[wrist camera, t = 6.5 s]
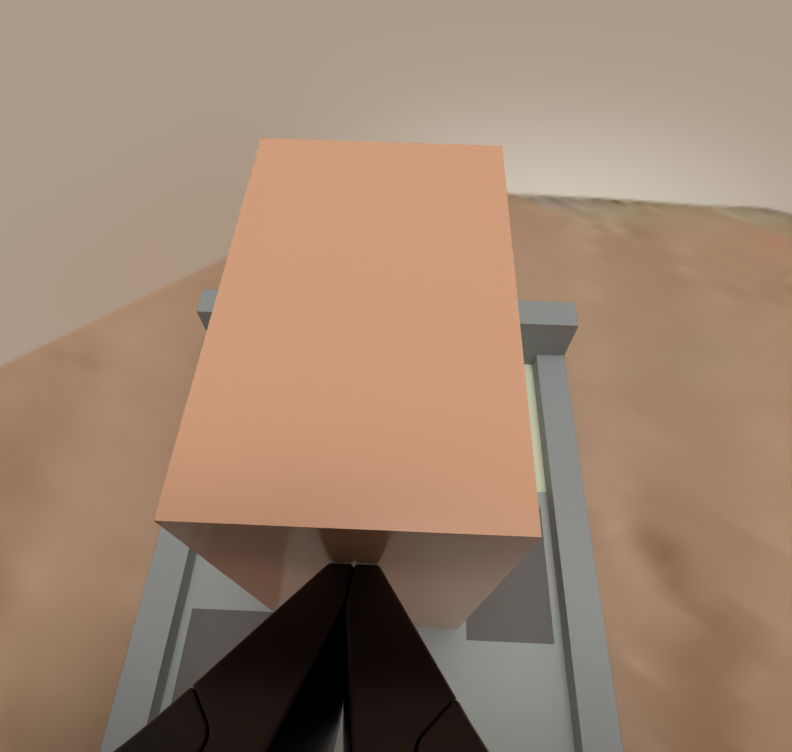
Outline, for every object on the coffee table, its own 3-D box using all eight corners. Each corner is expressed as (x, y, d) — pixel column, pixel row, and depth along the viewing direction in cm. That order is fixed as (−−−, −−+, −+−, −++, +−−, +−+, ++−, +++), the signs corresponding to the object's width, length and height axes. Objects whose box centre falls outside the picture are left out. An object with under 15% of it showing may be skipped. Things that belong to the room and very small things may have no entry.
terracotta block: (458, 628, 15) (541, 537, 7) (285, 620, 15) (153, 520, 7) (453, 389, 19) (501, 146, 11) (317, 383, 20) (260, 138, 11)
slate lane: (654, 1103, 11) (734, 1225, 8) (38, 1066, 11) (-65, 1174, 9) (552, 351, 21) (574, 302, 18) (226, 338, 21) (203, 289, 19)
